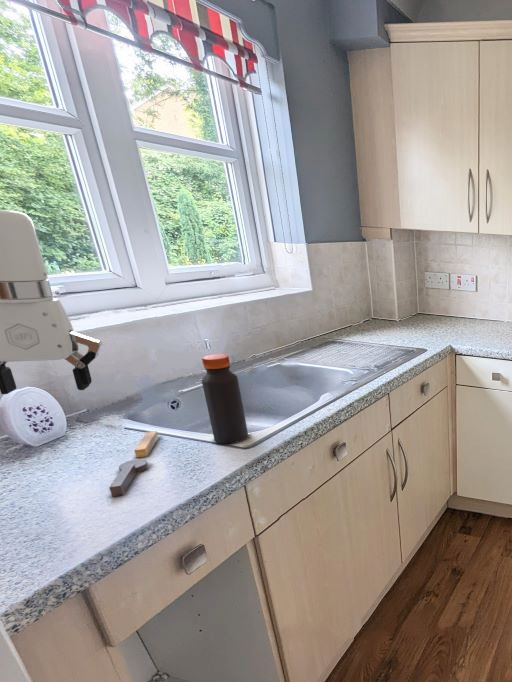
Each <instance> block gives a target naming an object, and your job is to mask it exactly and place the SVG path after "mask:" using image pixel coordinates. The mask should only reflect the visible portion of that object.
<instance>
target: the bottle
mask: <svg viewBox="0 0 512 682" xmlns="http://www.w3.org/2000/svg"><path fill="white" fill-rule="evenodd" d="M201 361H202V365H203V368H204V371H206V373H205V374H204V376H203V377H202V379H201V384H202V389H203V393H204V399H205V403H206V407H207V412H208V417H209V422H210V426H211V430H212V435H213V439H214V442H215V443H216V444H220V445H231V444H235V443H239V442H242V441H244V440H246V439H247V438H248V437H249V432H248V426H247V421H246V415H245V411H244V405H243V400H242V395H241V394H242V393H241V390H240V389H241V388H240V384H239V383H240V382H239V379H238V376H237V374H235V373H234V372H233V371H230V368H231V363H230V357H229V354H224V353H215V354H214V353H213V354H207V355H204V356H203V357H202V358H201Z"/></svg>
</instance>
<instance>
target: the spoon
mask: <svg viewBox="0 0 512 682" xmlns="http://www.w3.org/2000/svg"><path fill="white" fill-rule="evenodd" d="M148 468H149V463H148V460H146V459H144V458H138V459H131V460H128V461H125V462H123V463H120V465H118V470H119V472H118V474H117V475H116V477H115V479H114V480H113V482H112V483H111V484H110V486H108V487H109V491H110V494H111V497H120V496H124V495H125V493H126V491H127V490H128V487H130V485H131V483H132V482H133V480H134V478H135V476H136V475H137V474H138V473H141V472H144V471H146V470H147V469H148Z"/></svg>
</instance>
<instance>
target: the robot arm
mask: <svg viewBox="0 0 512 682" xmlns="http://www.w3.org/2000/svg"><path fill="white" fill-rule="evenodd" d="M45 265H46V264H45V262H44V258H43V253H42V250H41V247H40V243H39V239H38V235H37V232H36V228H35V224H34V222H33V220H32V218H31V217H30V216H29V215H27V214H26V213H24V212H20V211H16V210H7V209H0V394H1V395H9V394H10V393H12V392H13V391H16V390H17V385H16V381H15V378H14V375H13V371H12V369H11V368H10V367H9V366H6V365H7V364H8V363H13V362H41V361H45V362H46V361H60V360H65V362H68V363H70V364H71V365H72V366H74V367H73V369H72V373H73V377H74V382H75V385H76V388H77V389H76V390H79V391H85V390H87V388H89V387H90V385H91V384H92V376H91V372H90V368H89V365H90V364H91V363H92V362H93V361H94V360H95V359H96V358H97V357H98V356H99V353H100V351H101V348H102V346H103V342H102V341H101V340H99V339H95V338H93V337H90V336H86V335H84V334H81V333H78V332H75V330H74V327H73V325H72V322H71V320H70V317H69V315H68V313H67V312H66V310H65V308H64V305H63V304H62V302H61V301H60V299H59V298H57V297H54V295H53V291H52V287H51V284H50V280H49V276H48V273H47V269H46V266H45ZM79 344H80V345H84V346H86V347H87V349H88V350H87V352H86V353H85V354H84V355H83V354H82V353H81V352H80V351H79Z"/></svg>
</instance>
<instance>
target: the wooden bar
mask: <svg viewBox="0 0 512 682" xmlns="http://www.w3.org/2000/svg"><path fill="white" fill-rule="evenodd" d="M158 439H159V435H158V430H154V431H147V432H146V433H145V434H144V436H143V437H142V439H140V441H139V443H138V444H137V445H136V447H135V448H134V454H135V458H138V459H139V458H145V457H148V456H149V454H150V452H151V451H152V449H153V447H154V446H155V444H156V443H157V441H158Z"/></svg>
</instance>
